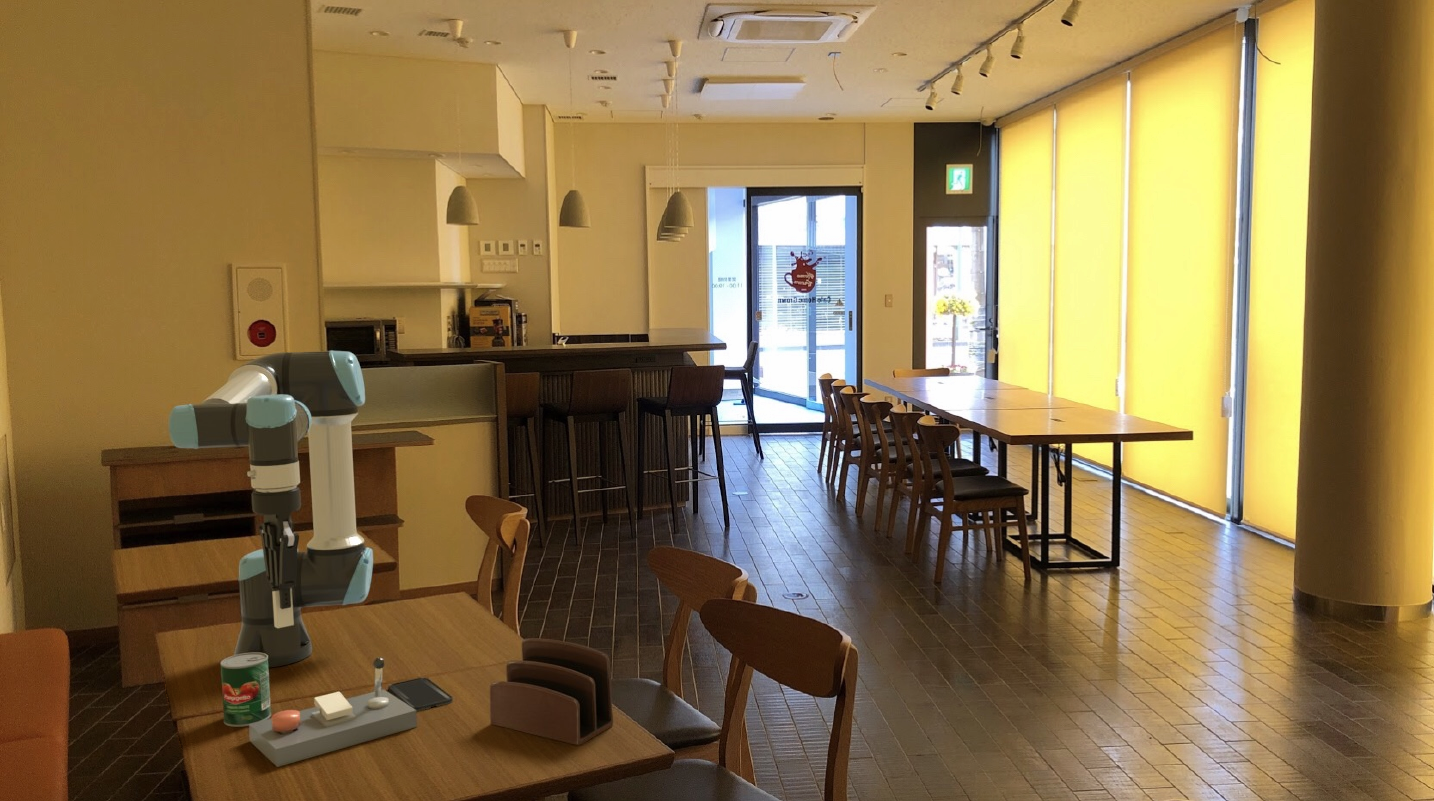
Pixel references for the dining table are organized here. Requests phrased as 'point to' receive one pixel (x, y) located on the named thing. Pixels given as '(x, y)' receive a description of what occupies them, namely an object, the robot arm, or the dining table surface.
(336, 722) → the control panel
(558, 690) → the letter holder
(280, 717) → the push button
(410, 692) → the phone
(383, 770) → the dining table surface
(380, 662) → the toggle lever
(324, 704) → the rocker switch
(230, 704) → the canned tomato
